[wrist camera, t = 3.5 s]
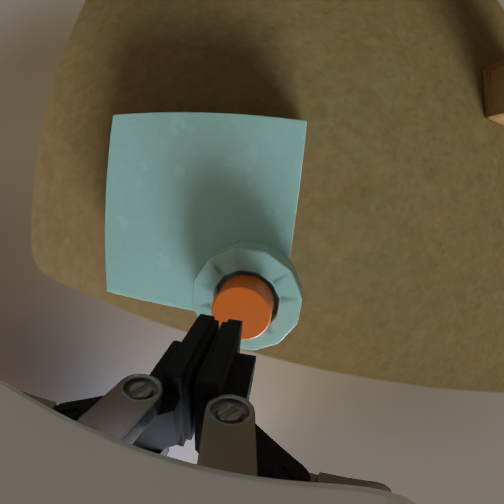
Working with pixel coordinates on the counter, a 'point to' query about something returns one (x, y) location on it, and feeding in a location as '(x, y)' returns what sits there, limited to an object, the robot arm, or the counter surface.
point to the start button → (244, 304)
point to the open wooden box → (494, 92)
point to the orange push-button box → (204, 209)
